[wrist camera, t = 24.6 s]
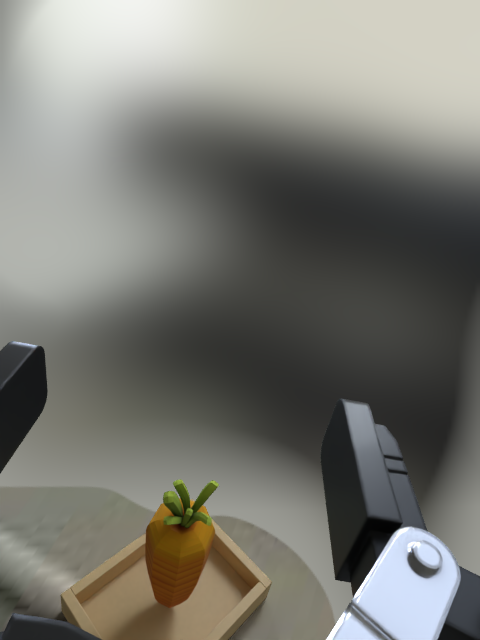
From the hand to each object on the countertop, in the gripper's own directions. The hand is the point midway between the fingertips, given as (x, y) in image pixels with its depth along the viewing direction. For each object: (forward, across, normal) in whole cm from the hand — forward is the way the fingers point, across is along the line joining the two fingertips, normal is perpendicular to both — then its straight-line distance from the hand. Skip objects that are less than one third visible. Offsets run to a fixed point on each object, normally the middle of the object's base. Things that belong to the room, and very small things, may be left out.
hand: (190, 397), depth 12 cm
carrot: (+10, 0, -32) cm, 33 cm away
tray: (+10, 0, -32) cm, 34 cm away
